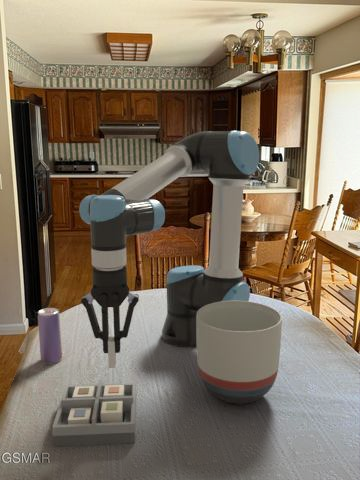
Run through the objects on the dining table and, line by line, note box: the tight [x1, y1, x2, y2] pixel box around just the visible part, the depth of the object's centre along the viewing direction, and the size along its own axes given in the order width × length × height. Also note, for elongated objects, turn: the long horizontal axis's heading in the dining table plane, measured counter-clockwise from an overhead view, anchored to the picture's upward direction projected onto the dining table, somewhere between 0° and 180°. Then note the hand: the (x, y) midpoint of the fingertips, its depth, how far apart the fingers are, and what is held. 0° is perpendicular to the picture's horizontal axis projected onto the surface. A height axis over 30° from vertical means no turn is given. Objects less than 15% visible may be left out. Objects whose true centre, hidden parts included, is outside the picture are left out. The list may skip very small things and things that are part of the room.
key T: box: [68, 408, 92, 425], centre depth 105 cm, size 4×4×3 cm
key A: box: [103, 385, 124, 397], centre depth 112 cm, size 4×4×3 cm
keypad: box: [51, 379, 137, 447], centre depth 109 cm, size 17×18×6 cm
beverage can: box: [37, 307, 63, 365], centre depth 137 cm, size 6×6×15 cm
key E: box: [72, 386, 95, 398], centre depth 111 cm, size 4×4×3 cm
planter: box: [196, 301, 283, 405], centre depth 117 cm, size 20×20×21 cm
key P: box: [101, 401, 123, 423], centre depth 105 cm, size 4×4×3 cm
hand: (112, 365), depth 110 cm, fingers closed
